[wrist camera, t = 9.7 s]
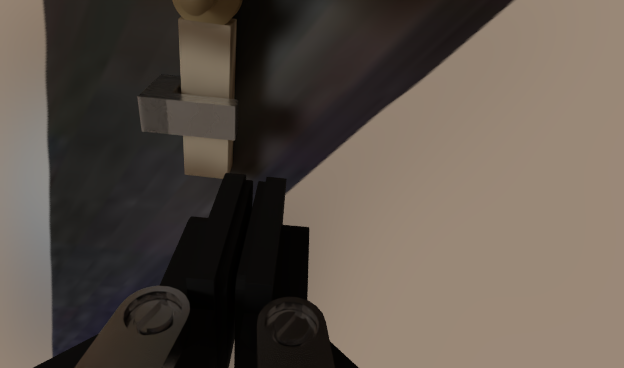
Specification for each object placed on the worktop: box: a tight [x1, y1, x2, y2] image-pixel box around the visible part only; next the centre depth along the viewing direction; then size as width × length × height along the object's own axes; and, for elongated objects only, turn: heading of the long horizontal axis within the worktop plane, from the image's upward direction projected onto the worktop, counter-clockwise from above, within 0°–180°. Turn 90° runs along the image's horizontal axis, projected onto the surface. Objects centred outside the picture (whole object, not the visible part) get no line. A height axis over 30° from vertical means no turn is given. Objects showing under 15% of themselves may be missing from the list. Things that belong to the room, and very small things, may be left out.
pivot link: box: [172, 0, 243, 179], centre depth 34 cm, size 18×5×6 cm, turn 173°
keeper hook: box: [138, 74, 238, 141], centre depth 35 cm, size 3×8×6 cm, turn 84°
